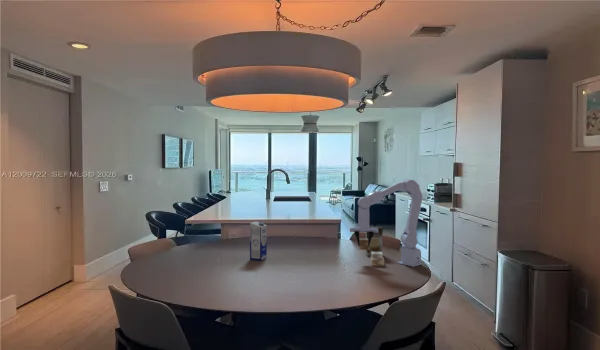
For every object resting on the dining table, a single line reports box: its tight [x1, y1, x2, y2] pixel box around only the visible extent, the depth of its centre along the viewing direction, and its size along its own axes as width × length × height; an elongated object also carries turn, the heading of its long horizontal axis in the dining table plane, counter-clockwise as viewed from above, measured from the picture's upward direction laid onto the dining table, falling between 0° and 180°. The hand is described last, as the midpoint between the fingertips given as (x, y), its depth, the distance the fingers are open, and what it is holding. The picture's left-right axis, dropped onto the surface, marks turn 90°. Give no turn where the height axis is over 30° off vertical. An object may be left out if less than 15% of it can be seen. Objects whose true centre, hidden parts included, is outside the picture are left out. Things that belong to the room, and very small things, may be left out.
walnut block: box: [358, 237, 368, 250], centre depth 191 cm, size 4×4×5 cm
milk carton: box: [249, 221, 268, 262], centre depth 198 cm, size 7×7×20 cm
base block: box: [370, 257, 385, 267], centre depth 190 cm, size 6×6×3 cm
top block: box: [370, 251, 384, 260], centre depth 190 cm, size 6×6×3 cm
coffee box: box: [365, 225, 384, 257], centre depth 210 cm, size 9×6×16 cm
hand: (363, 245), depth 191 cm, fingers closed on walnut block, 4 cm apart
